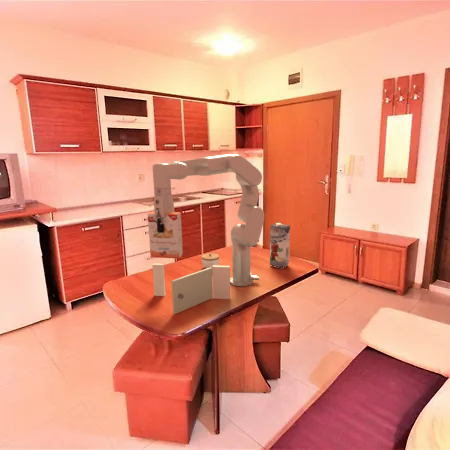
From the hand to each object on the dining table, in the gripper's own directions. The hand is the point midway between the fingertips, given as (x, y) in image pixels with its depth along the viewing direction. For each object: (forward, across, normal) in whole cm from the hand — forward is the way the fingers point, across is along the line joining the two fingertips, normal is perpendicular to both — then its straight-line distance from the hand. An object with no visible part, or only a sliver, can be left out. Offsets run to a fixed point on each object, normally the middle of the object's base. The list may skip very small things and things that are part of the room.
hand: (165, 230), depth 146 cm
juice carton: (+34, +60, -41) cm, 80 cm away
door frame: (+33, +4, -10) cm, 35 cm away
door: (+33, -4, -16) cm, 37 cm away
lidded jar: (+34, +43, -3) cm, 54 cm away
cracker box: (+13, 0, 0) cm, 13 cm away
